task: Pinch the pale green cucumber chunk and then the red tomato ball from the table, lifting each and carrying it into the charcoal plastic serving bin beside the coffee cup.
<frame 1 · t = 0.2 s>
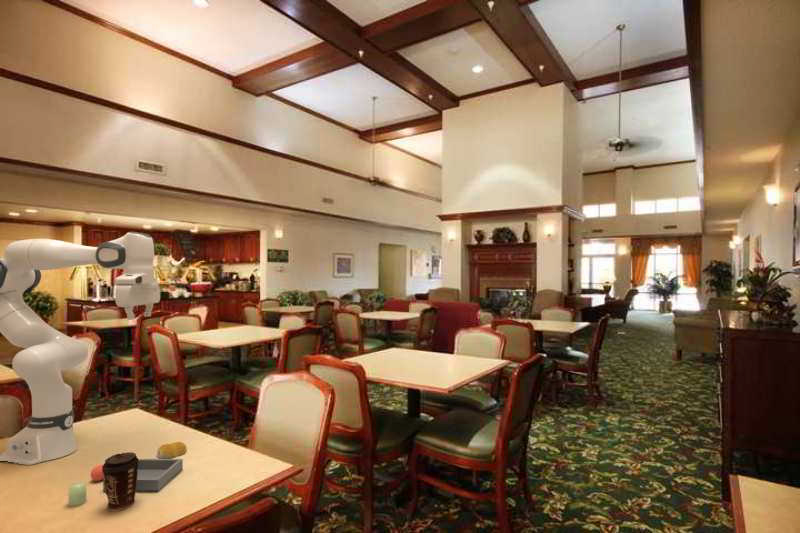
hand: (139, 317, 152), 48 cm above the table, tool pointing down, fingers open, 8 cm apart
cucumber: (77, 503, 121), on the table
bread roll: (171, 455, 152), on the table
coffee cup: (121, 505, 120), on the table
bin: (144, 480, 133), on the table
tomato: (99, 472, 134), point 2 cm above the table
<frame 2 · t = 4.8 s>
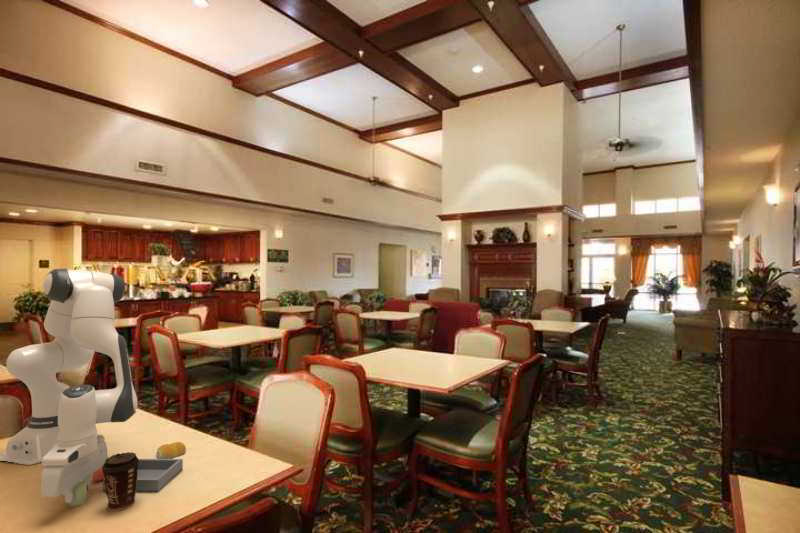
hand: (77, 496, 121), 2 cm above the table, tool pointing down, fingers closed on cucumber, 4 cm apart
cucumber: (77, 502, 121), on the table, touching gripper
everything else where it was.
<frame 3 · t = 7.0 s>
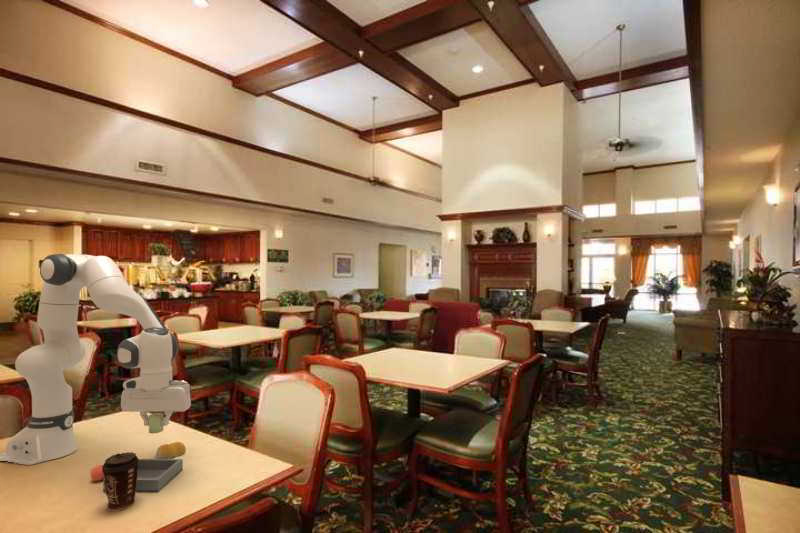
hand: (156, 425, 135), 16 cm above the table, tool pointing down, fingers closed on cucumber, 4 cm apart
cucumber: (156, 431, 135), point 14 cm above the table, touching gripper
everything else where it was.
when the fingers open (5 cm above the table, at t = 9.4 s): cucumber drops 3 cm, resting on bin.
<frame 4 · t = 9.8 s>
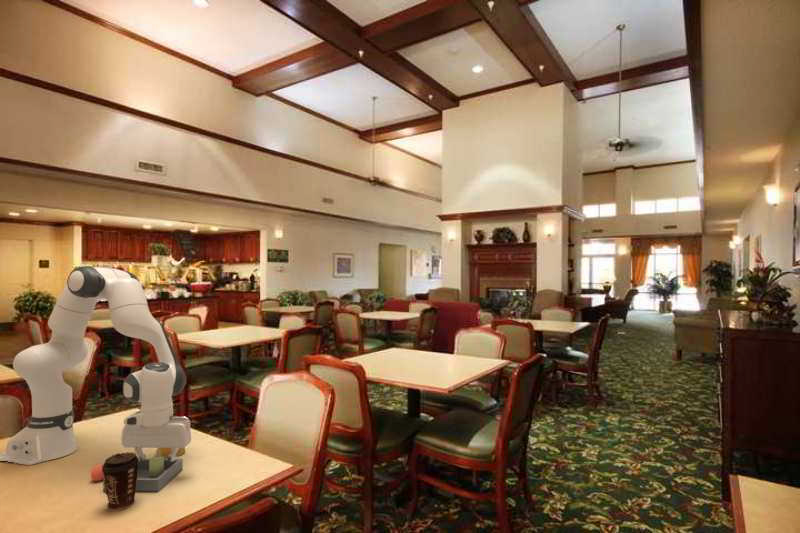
hand: (156, 460, 135), 5 cm above the table, tool pointing down, fingers open, 8 cm apart
cucumber: (156, 475, 135), point 1 cm above the table, touching bin
everything else where it was.
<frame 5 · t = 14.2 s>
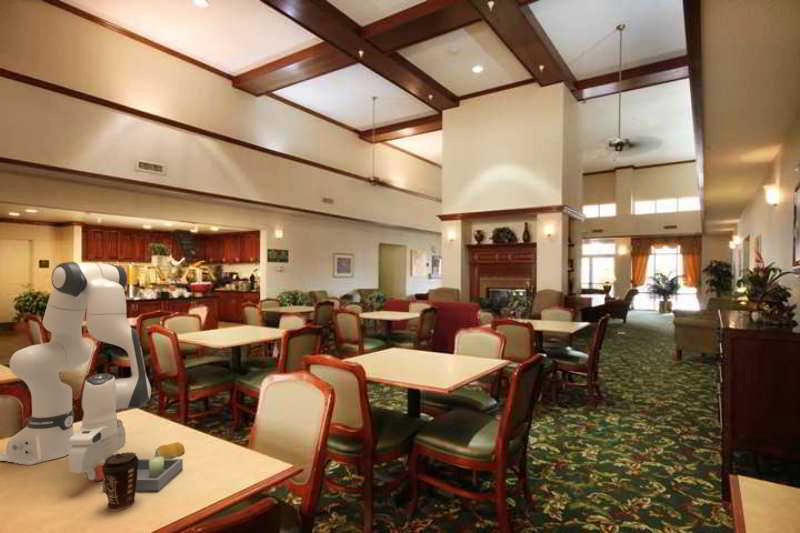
hand: (99, 474, 134), 2 cm above the table, tool pointing down, fingers closed on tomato, 4 cm apart
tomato: (99, 472, 134), point 2 cm above the table, touching gripper
everything else where it was.
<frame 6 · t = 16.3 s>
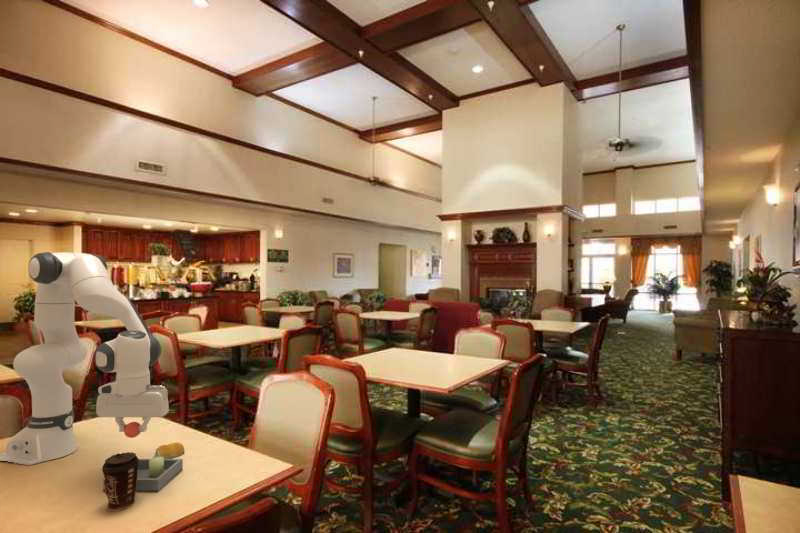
hand: (133, 431, 132), 16 cm above the table, tool pointing down, fingers closed on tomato, 4 cm apart
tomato: (132, 429, 131), point 16 cm above the table, touching gripper
everything else where it was.
when the fingers open (5 cm above the table, at t = 18.5 s): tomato drops 3 cm, resting on bin.
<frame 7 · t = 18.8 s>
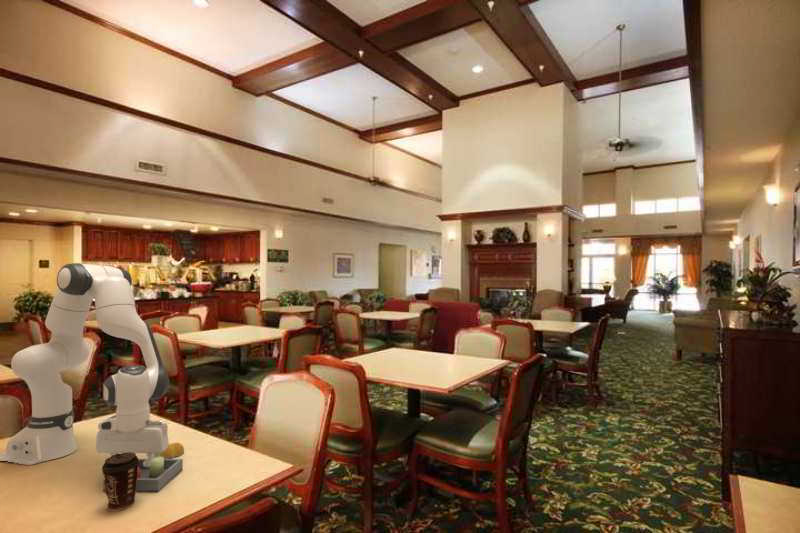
hand: (132, 466, 132), 5 cm above the table, tool pointing down, fingers open, 7 cm apart
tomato: (132, 474, 131), point 3 cm above the table, touching bin
everything else where it was.
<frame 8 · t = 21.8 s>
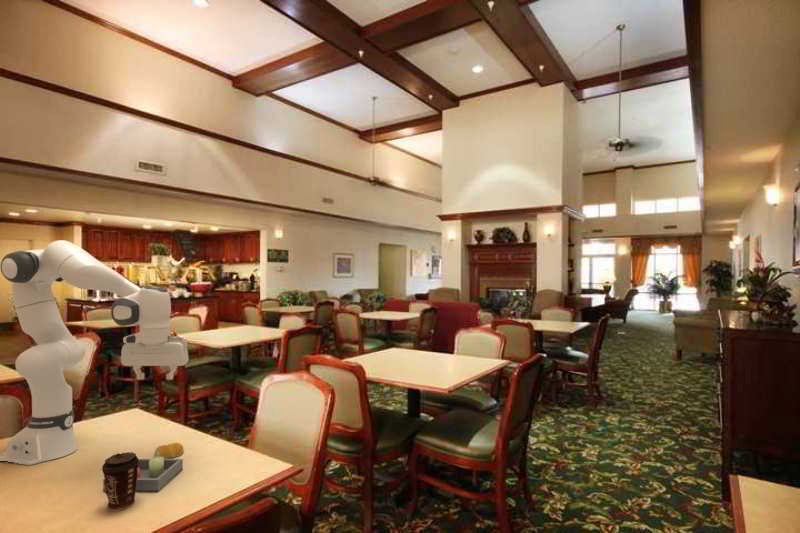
hand: (155, 379, 141), 29 cm above the table, tool pointing down, fingers open, 8 cm apart
at the end: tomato inside the target area on the bin (3.5 cm from its centre), point 2.8 cm above the bin's base; cucumber inside the target area on the bin (3.1 cm from its centre), point 0.6 cm above the bin's base; the gripper is holding nothing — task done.
